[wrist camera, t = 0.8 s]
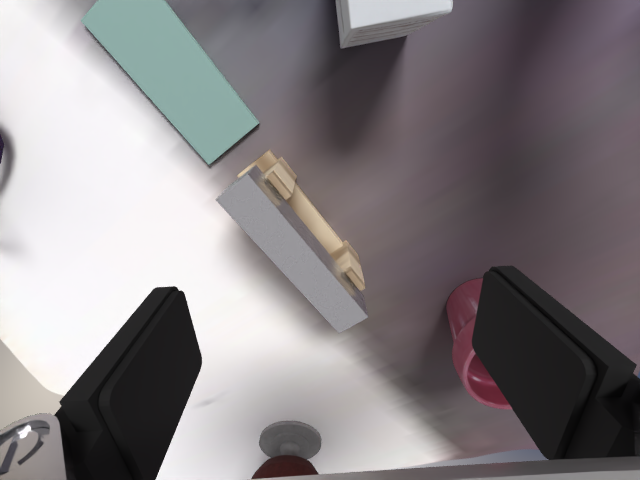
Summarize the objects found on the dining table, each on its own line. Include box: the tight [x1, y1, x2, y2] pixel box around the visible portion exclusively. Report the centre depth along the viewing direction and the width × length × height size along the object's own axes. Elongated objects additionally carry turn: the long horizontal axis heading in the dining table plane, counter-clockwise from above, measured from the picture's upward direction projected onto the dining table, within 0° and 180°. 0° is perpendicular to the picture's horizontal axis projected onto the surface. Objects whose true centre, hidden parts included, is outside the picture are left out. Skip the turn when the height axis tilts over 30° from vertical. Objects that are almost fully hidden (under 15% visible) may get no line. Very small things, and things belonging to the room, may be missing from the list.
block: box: [216, 165, 368, 333], centre depth 34 cm, size 20×4×4 cm, turn 36°
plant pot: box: [446, 278, 512, 409], centre depth 42 cm, size 14×14×13 cm
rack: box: [237, 150, 365, 291], centre depth 38 cm, size 6×20×8 cm, turn 36°
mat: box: [81, 0, 259, 165], centre depth 34 cm, size 8×18×1 cm, turn 36°
